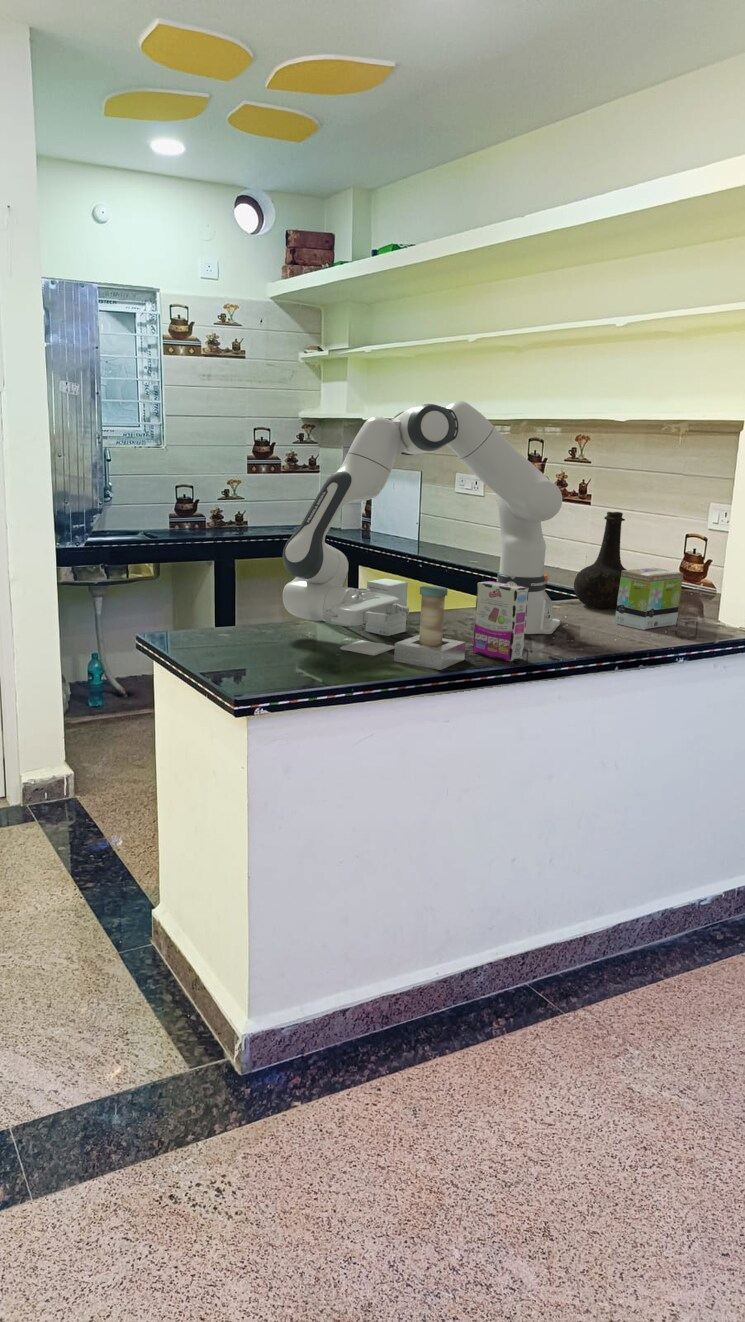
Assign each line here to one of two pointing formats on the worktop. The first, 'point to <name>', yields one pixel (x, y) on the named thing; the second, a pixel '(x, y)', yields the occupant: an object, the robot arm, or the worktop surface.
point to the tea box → (648, 598)
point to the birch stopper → (432, 615)
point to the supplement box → (395, 621)
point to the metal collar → (429, 653)
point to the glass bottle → (603, 569)
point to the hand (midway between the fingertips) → (397, 615)
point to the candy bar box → (500, 620)
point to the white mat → (367, 647)
